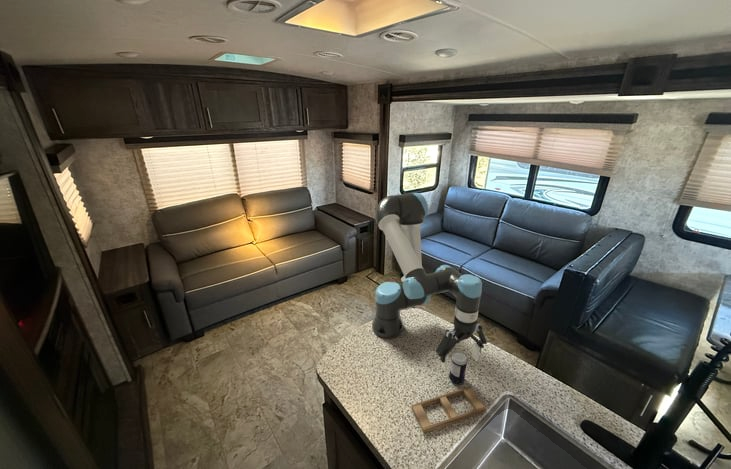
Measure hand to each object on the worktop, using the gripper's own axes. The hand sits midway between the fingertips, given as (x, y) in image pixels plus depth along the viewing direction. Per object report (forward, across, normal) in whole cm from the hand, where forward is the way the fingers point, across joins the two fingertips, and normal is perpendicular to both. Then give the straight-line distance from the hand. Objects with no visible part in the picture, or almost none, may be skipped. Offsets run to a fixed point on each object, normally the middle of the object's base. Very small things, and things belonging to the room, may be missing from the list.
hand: (459, 362), depth 107 cm
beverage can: (+10, 0, +1) cm, 10 cm away
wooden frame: (+10, -10, -9) cm, 17 cm away
